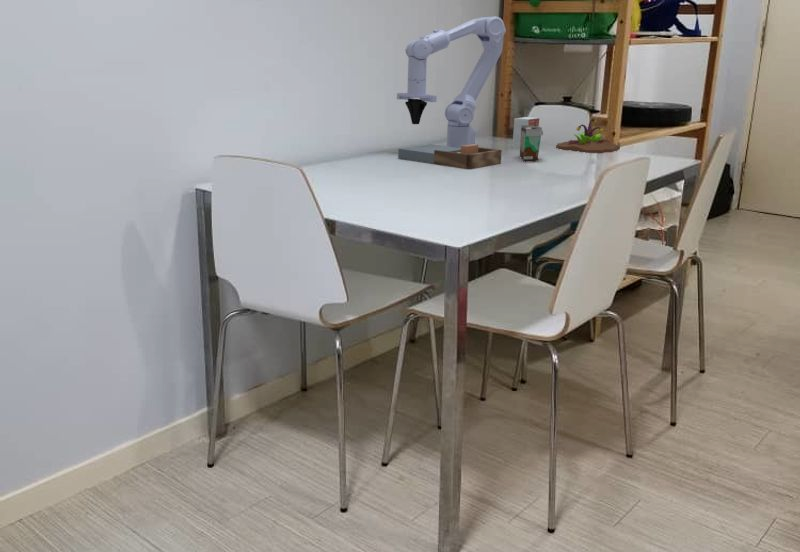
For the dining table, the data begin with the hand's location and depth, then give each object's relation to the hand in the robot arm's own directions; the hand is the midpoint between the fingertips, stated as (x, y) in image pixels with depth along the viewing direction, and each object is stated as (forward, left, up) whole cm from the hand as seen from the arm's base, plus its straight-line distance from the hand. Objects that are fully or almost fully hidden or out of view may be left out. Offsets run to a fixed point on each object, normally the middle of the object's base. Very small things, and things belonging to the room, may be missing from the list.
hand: (415, 124), depth 251 cm
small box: (-38, +17, -10) cm, 43 cm away
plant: (-52, +34, -10) cm, 63 cm away
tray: (+4, +24, -9) cm, 26 cm away
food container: (-18, +32, -10) cm, 38 cm away
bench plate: (+4, +10, -9) cm, 14 cm away
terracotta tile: (+4, +23, -6) cm, 24 cm away
